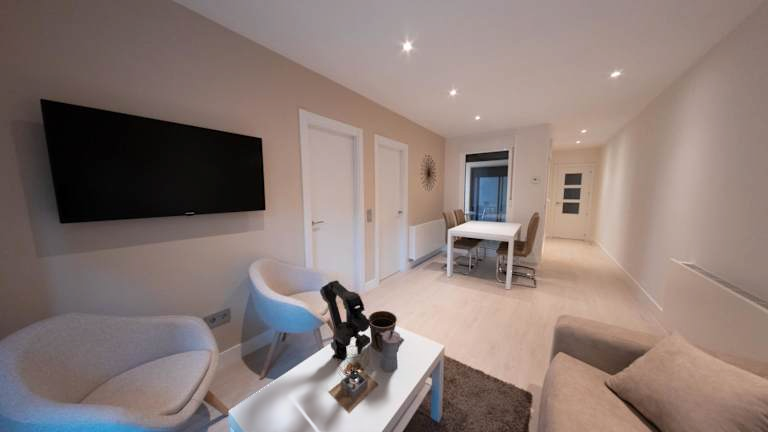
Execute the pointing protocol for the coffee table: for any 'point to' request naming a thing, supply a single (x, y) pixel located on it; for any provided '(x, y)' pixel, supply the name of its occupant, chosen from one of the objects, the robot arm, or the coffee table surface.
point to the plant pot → (381, 326)
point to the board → (346, 400)
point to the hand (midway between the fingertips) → (352, 349)
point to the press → (356, 392)
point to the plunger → (354, 380)
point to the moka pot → (389, 349)
